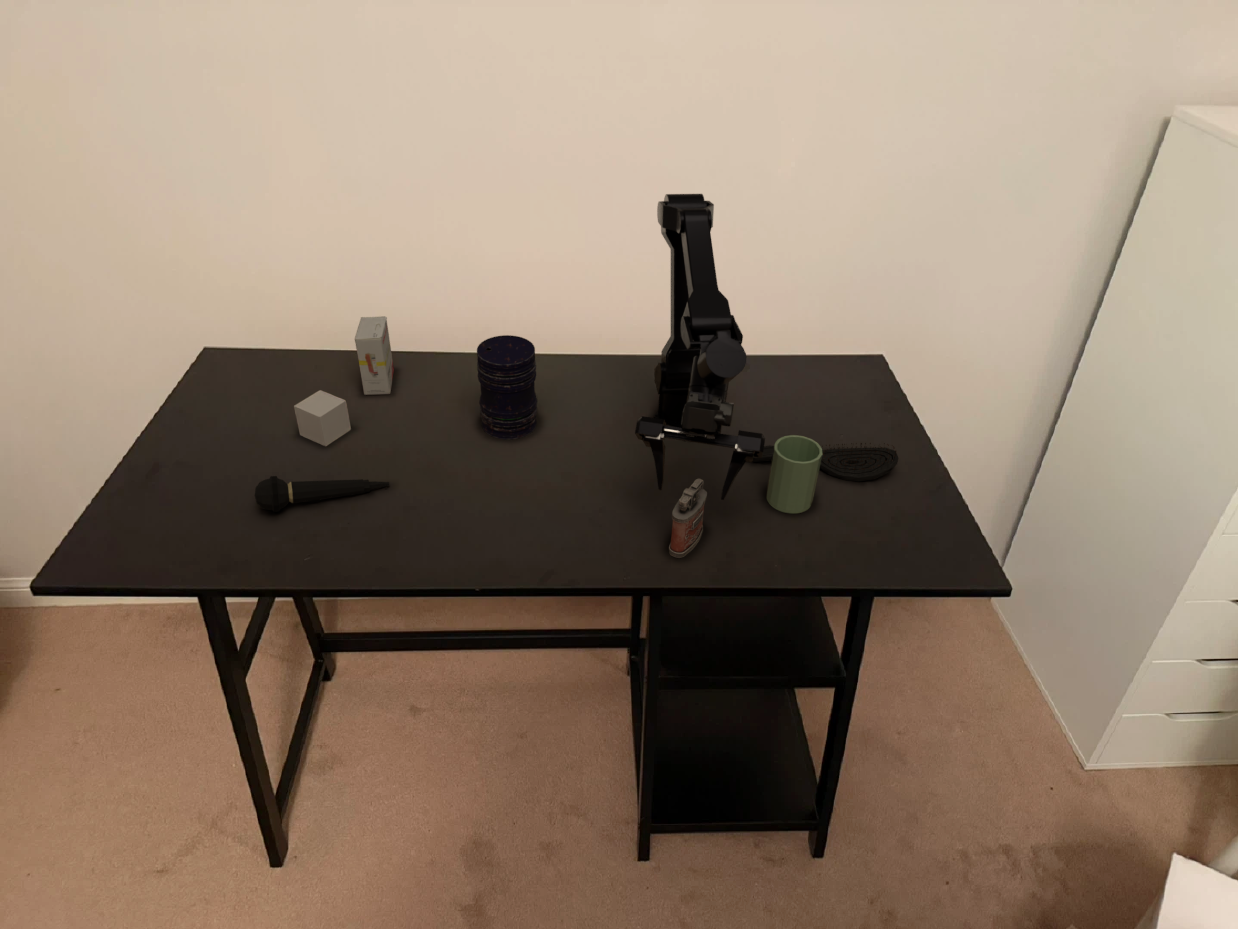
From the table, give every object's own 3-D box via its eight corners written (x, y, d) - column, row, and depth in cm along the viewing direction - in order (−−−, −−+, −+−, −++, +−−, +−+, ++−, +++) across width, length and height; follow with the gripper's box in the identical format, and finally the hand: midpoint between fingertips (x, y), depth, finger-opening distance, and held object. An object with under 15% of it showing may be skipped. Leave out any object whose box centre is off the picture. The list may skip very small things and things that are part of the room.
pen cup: (759, 503, 148) (767, 453, 142) (776, 479, 153) (784, 430, 147) (802, 519, 145) (812, 468, 139) (818, 494, 150) (828, 444, 144)
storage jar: (538, 408, 167) (537, 335, 158) (536, 440, 160) (534, 365, 150) (483, 407, 167) (478, 334, 158) (478, 439, 159) (472, 364, 150)
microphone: (387, 495, 151) (255, 507, 144) (385, 461, 149) (252, 472, 142) (392, 506, 146) (256, 519, 139) (391, 472, 144) (253, 483, 137)
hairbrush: (746, 430, 159) (895, 436, 157) (745, 447, 161) (892, 454, 159) (746, 459, 152) (902, 466, 150) (745, 476, 155) (898, 484, 152)
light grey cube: (325, 418, 163) (320, 389, 159) (351, 429, 160) (346, 400, 157) (299, 435, 158) (293, 405, 155) (325, 446, 156) (319, 417, 152)
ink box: (368, 370, 176) (359, 315, 168) (394, 370, 176) (387, 314, 169) (362, 395, 169) (353, 338, 162) (390, 395, 169) (382, 338, 162)
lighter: (684, 560, 137) (689, 508, 130) (663, 552, 138) (668, 500, 132) (707, 530, 142) (713, 478, 136) (687, 522, 143) (693, 471, 137)
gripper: (640, 369, 130) (621, 478, 129) (773, 387, 128) (756, 499, 126) (647, 387, 141) (630, 487, 139) (770, 404, 139) (754, 507, 137)
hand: (691, 494), depth 135 cm, fingers open, 9 cm apart
